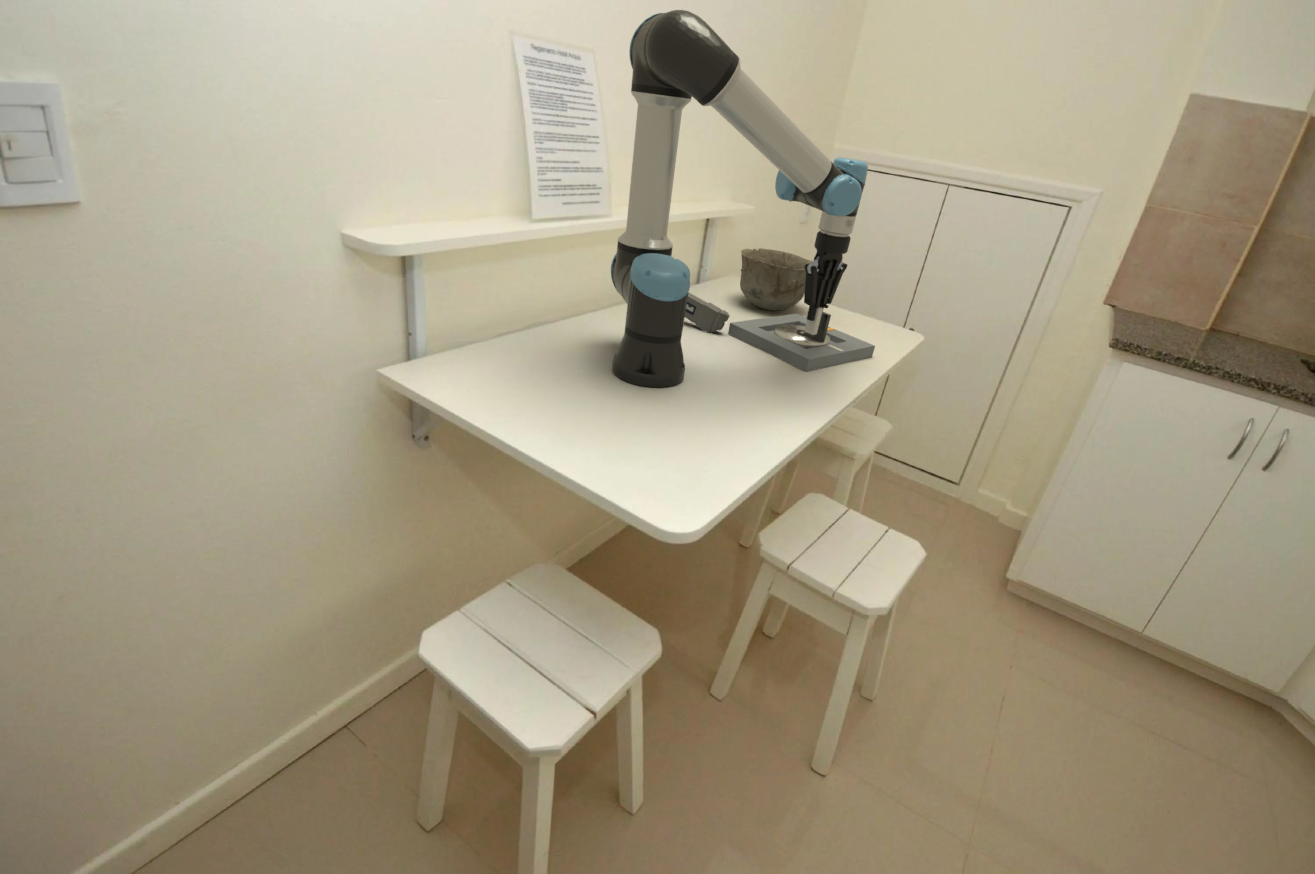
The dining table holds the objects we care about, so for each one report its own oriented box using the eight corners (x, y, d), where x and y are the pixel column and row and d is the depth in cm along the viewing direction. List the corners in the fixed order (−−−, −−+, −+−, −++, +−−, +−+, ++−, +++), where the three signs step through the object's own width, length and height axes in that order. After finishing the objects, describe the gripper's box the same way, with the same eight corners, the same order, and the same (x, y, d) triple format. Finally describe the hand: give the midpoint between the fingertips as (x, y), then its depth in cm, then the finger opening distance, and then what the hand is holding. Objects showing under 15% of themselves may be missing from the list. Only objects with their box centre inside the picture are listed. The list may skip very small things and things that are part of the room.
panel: (805, 371, 150) (809, 358, 149) (727, 334, 167) (730, 322, 166) (871, 356, 166) (875, 345, 164) (794, 324, 183) (797, 312, 182)
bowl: (762, 293, 208) (772, 245, 201) (819, 314, 195) (831, 264, 188) (716, 300, 194) (724, 249, 187) (773, 323, 181) (784, 269, 174)
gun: (698, 363, 171) (727, 317, 163) (627, 306, 176) (652, 259, 167) (703, 360, 174) (732, 314, 165) (633, 304, 178) (658, 257, 170)
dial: (804, 352, 157) (812, 318, 153) (762, 332, 166) (769, 300, 162) (840, 345, 165) (848, 313, 162) (798, 327, 175) (805, 296, 171)
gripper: (829, 237, 141) (804, 341, 152) (865, 236, 149) (839, 335, 160) (803, 229, 146) (780, 330, 157) (839, 228, 154) (815, 325, 165)
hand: (810, 332), depth 158 cm, fingers closed
